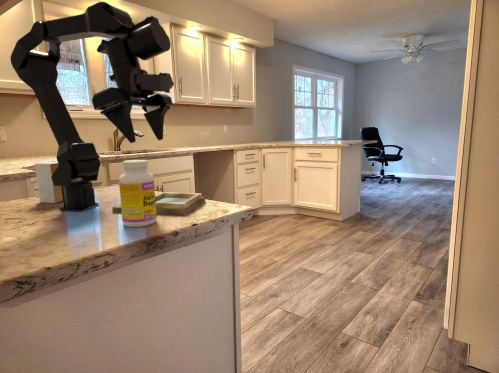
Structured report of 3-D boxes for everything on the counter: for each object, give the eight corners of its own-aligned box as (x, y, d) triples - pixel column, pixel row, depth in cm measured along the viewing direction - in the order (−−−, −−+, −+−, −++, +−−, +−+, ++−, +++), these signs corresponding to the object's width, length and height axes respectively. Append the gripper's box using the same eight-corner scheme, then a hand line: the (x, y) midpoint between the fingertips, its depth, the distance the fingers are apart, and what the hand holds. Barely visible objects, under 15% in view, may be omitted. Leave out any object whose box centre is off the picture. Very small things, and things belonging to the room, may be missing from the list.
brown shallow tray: (112, 212, 74) (111, 202, 73) (142, 199, 86) (141, 190, 86) (184, 215, 70) (184, 205, 70) (205, 201, 82) (204, 192, 82)
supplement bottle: (146, 229, 61) (141, 162, 59) (116, 227, 63) (109, 162, 60) (162, 219, 68) (158, 159, 65) (134, 217, 69) (129, 158, 67)
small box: (55, 203, 83) (49, 163, 81) (39, 202, 85) (33, 163, 83) (80, 197, 91) (75, 160, 89) (65, 196, 92) (60, 160, 90)
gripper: (124, 44, 55) (149, 132, 56) (182, 62, 72) (200, 130, 73) (78, 66, 59) (104, 148, 60) (143, 78, 76) (162, 142, 78)
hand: (147, 141), depth 68 cm, fingers open, 9 cm apart
